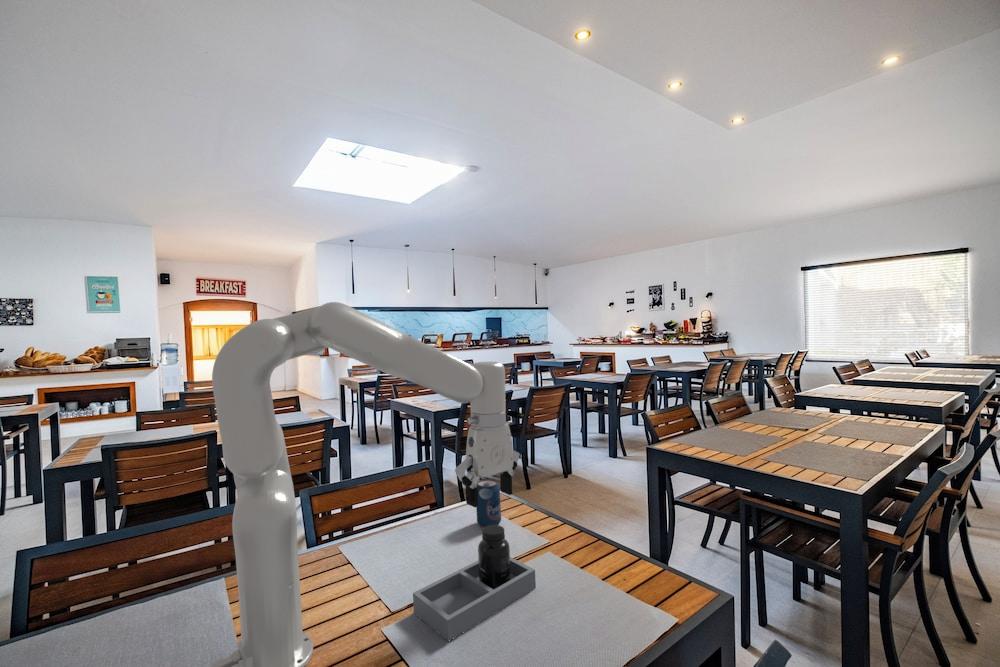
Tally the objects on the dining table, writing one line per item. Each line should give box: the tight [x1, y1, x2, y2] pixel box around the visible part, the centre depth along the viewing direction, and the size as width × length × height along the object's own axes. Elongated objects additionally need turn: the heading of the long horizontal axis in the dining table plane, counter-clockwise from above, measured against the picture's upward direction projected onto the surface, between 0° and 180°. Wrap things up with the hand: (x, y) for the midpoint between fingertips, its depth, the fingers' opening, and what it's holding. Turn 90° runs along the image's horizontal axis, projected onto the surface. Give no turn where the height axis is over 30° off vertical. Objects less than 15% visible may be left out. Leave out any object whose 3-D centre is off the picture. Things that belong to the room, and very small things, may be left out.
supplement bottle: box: [477, 524, 511, 590], centre depth 99 cm, size 7×7×12 cm
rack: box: [412, 556, 537, 642], centre depth 95 cm, size 23×12×4 cm, turn 132°
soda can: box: [475, 478, 502, 529], centre depth 130 cm, size 7×7×12 cm
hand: (489, 499), depth 98 cm, fingers open, 9 cm apart
